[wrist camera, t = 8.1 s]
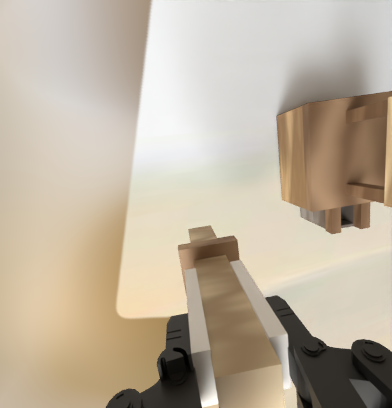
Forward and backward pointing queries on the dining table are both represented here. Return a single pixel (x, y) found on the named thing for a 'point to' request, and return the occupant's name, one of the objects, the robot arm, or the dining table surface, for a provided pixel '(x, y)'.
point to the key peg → (232, 326)
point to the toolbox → (299, 168)
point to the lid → (348, 156)
